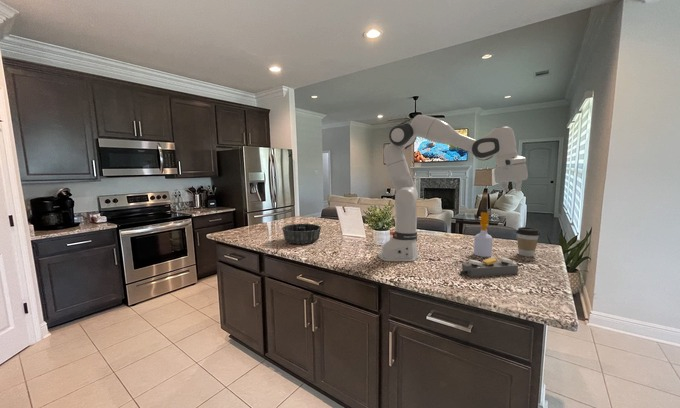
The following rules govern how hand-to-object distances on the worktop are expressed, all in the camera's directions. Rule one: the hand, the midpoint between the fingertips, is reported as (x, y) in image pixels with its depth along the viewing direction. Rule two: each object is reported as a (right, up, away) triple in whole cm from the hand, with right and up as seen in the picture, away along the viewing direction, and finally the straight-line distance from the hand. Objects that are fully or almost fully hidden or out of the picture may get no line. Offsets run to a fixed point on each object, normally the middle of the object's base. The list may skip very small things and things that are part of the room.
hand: (512, 191), depth 130 cm
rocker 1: (-17, -34, +1) cm, 38 cm away
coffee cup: (+27, -35, +31) cm, 54 cm away
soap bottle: (+2, -35, +32) cm, 47 cm away
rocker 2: (-9, -33, +3) cm, 35 cm away
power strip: (-10, -38, +3) cm, 40 cm away
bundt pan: (-105, -32, +64) cm, 127 cm away
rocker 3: (-1, -33, +4) cm, 34 cm away
